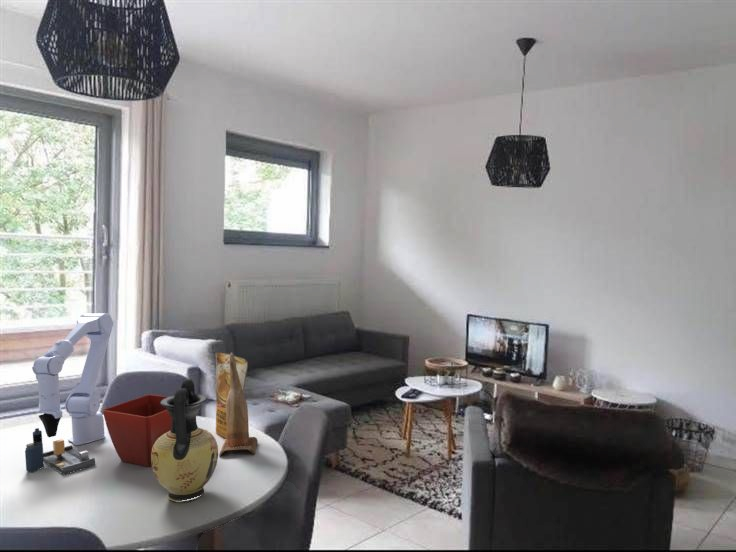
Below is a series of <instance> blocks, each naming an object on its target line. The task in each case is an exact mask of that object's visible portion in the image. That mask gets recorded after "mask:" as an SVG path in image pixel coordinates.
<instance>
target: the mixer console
mask: <svg viewBox="0 0 736 552" xmlns="http://www.w3.org/2000/svg"><path fill="white" fill-rule="evenodd" d="M43 458H44V463H46V464H47V465H48V466H50V467H51V468H53V469H54V470H56V471H57V470H58V471H57V472H59V473H60V472H61V474H62V475H63V474H65V475H68V474H71V473H70V472H72V473H74V472H73V471H75V472H77V470H78V471H81V470H84V468H85V469H87V468H91V467H94V466H96V458H95V457H93V458H90V453H89V451H88V450H83V451H78V450H76V449H75V448H74V447H73V444H71V445H70V444H69V445H68V446H65V453H63V454H62V457H58V456H57V455H54V449H52V450H49V451H45V452H43ZM80 469H81V470H80ZM67 473H68V474H67Z"/></svg>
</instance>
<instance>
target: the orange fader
mask: <svg viewBox="0 0 736 552" xmlns="http://www.w3.org/2000/svg"><path fill="white" fill-rule="evenodd" d="M52 447H53V449H52V450H54V455H57V456H58V457H62V454H63V453H65V447H66V445H65V439H62V438H61V439H58V440H54V441H52Z"/></svg>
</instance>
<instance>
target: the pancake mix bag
mask: <svg viewBox="0 0 736 552" xmlns="http://www.w3.org/2000/svg"><path fill="white" fill-rule="evenodd" d="M230 354H231V353H225V352H216V353H214V356H215V400H216V402H215V403H216V406H215V434H216V435H217V436H220V437H221V438H223V439H224V440H226V439H227V424H226V401H227V397H228V394H229V391H230ZM234 357H235V362H236V368H237V372H238V375H239V379H240V383H241V387H242V390H243V393H244V390H245V382H246V377H247V374H248V368H249V365H248V364H249V363H248V360H247V359H246V358H245V357H244V358H243V357H241V356H236V355H234Z"/></svg>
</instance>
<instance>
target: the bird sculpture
mask: <svg viewBox="0 0 736 552" xmlns="http://www.w3.org/2000/svg"><path fill="white" fill-rule="evenodd" d="M229 354H230V391H229V394H228V397H227V401H226V424H227V439H224V442H223V444H222V446H221V449H220V451H219V453H218V458H219V457H221V456H222V455H223V453H225V452H226V451H232V450H233V451H237V450H248V451H249V452H250V453H251V454H253V455H255V454H256V450H257V446H258V443H259V442H258V438H257V437H255V436H250V433H249V431H250V430H249V411H248V410H249V409H248V403H247V399H246V396H245V393H244V392H243V390H242V387H241V383H240V379H239V375H238V372H237V368H236V362H235V357H234V356H235V354H234V353H233V352H230V353H229Z"/></svg>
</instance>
